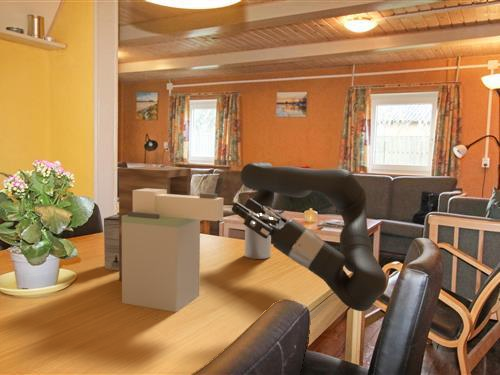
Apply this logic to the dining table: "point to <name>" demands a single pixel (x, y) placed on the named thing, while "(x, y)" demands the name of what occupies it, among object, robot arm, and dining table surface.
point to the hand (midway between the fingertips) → (240, 203)
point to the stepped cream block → (178, 204)
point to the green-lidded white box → (160, 260)
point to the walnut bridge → (152, 178)
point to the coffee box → (111, 242)
